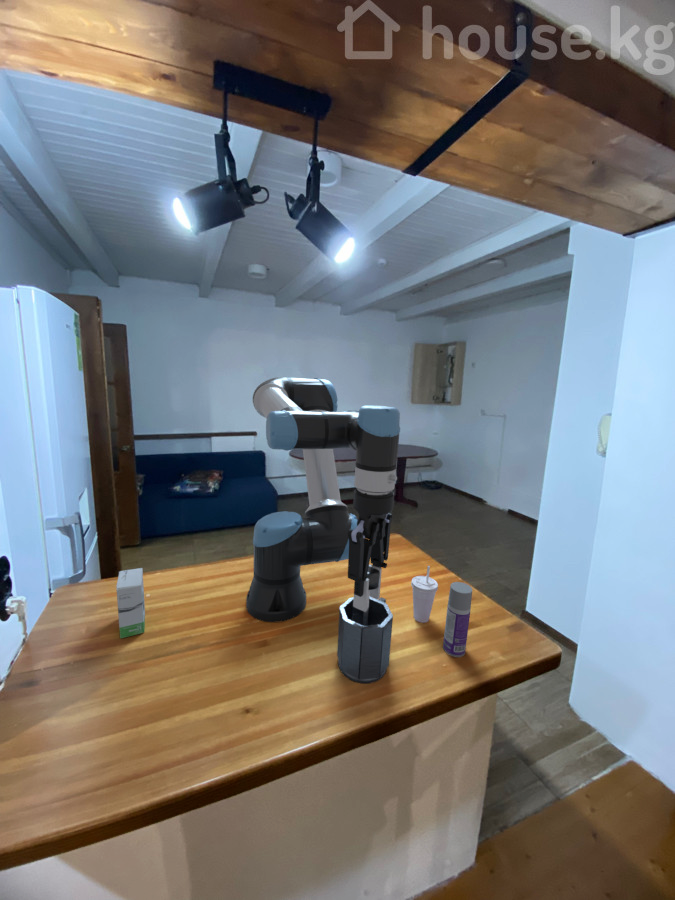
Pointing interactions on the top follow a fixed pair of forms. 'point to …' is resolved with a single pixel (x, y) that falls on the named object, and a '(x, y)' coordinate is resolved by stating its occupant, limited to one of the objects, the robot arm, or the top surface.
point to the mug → (364, 641)
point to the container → (457, 619)
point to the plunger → (373, 584)
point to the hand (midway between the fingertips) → (366, 602)
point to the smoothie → (423, 596)
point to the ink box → (131, 602)
